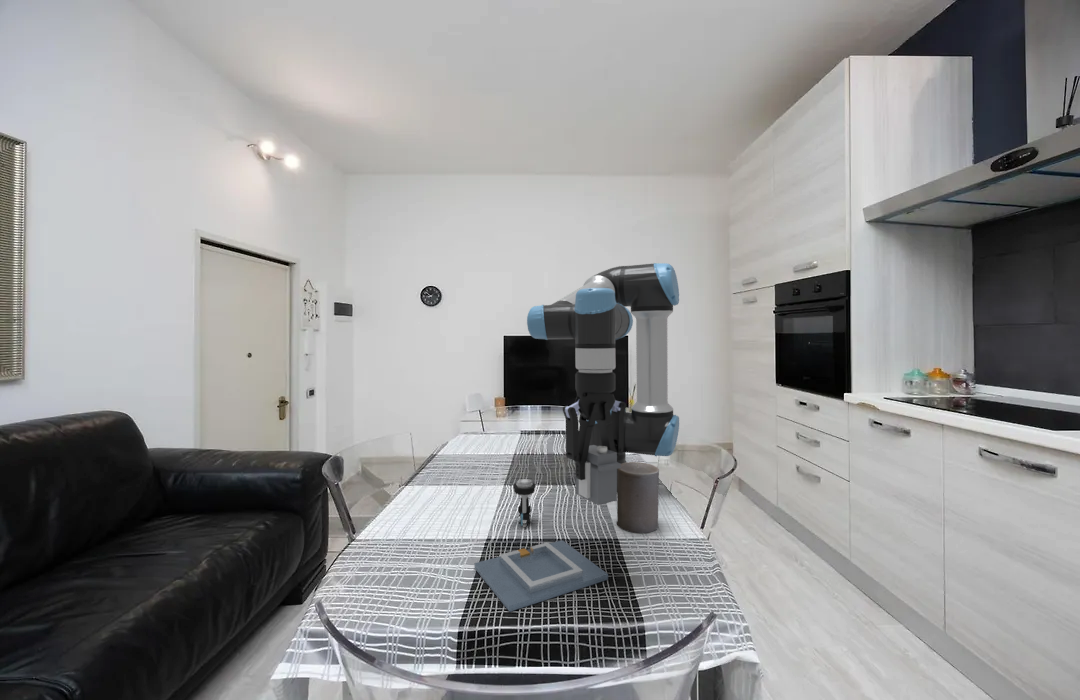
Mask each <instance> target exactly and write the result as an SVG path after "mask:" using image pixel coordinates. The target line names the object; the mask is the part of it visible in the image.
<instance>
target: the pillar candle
mask: <svg viewBox="0 0 1080 700" xmlns="http://www.w3.org/2000/svg"><path fill="white" fill-rule="evenodd" d="M659 476H660V469H659V468H658V466H656V465H654V464H651V463H645V462H638V461H629V462H628V461H626V463H622V464H621V468H618V478H617V501H616V503H617V506H616V507H617V508H616V510H617V511H616V513H617V517H616V525H617V527H619V528H620V529H622V530H624V531H627V532H630V533H634V534H649V533H653V532H654V531H656V530H657V529H658V528H659V488H660V487H659V483H660V482H659V481H660V480H659V479H660V477H659Z"/></svg>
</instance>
